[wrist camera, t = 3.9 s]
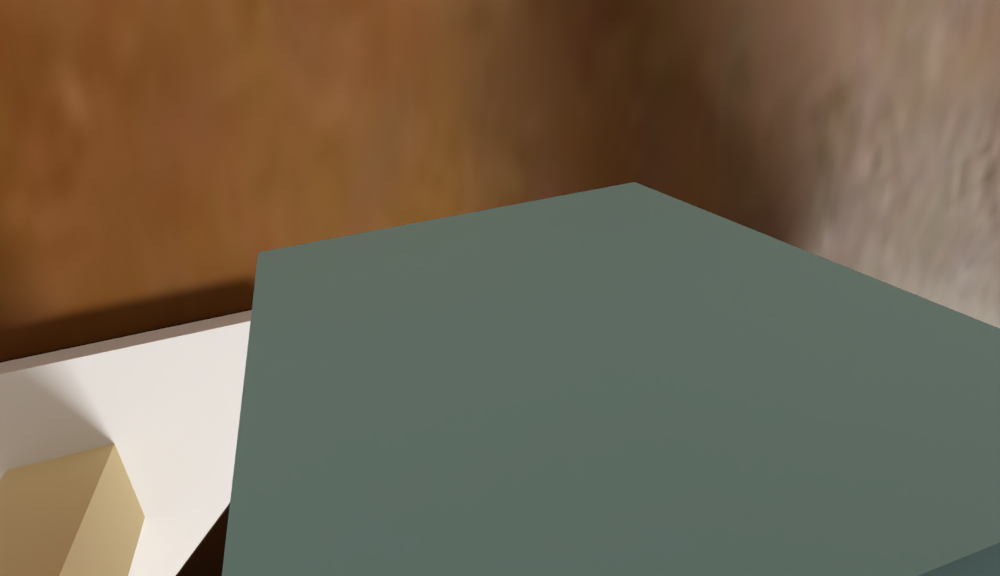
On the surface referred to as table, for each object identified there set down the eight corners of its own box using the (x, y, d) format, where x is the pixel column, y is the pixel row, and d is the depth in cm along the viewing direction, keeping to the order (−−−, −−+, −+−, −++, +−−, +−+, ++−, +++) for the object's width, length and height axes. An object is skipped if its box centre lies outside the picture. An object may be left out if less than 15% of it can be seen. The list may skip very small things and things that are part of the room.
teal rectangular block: (635, 182, 9) (1263, 435, 3) (640, 471, 11) (1033, 948, 5) (258, 252, 8) (190, 869, 2) (341, 564, 10) (427, 1326, 4)
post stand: (268, 306, 18) (261, 426, 13) (327, 521, 21) (343, 696, 16) (-248, 414, 15) (-562, 634, 10) (-93, 645, 18) (-260, 914, 13)
